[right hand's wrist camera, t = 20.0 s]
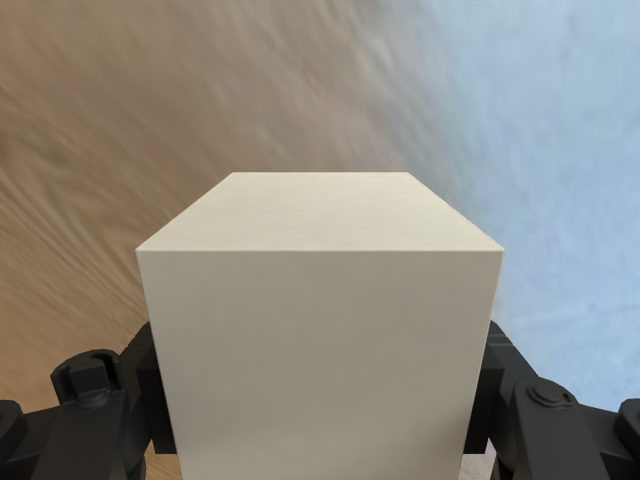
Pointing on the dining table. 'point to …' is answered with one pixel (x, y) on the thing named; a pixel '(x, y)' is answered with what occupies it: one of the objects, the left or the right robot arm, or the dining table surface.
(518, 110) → the dining table surface
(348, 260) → the block
